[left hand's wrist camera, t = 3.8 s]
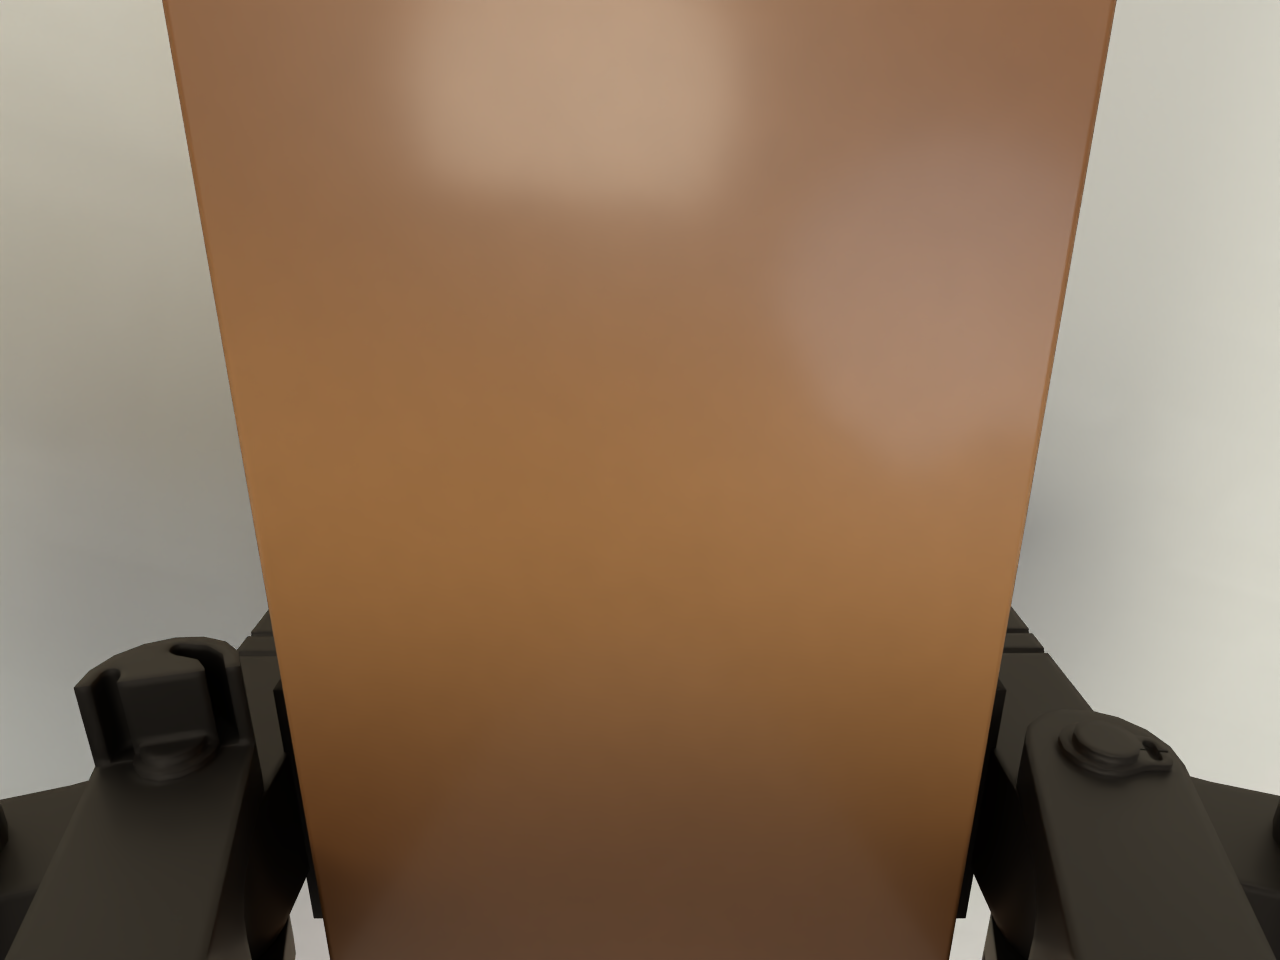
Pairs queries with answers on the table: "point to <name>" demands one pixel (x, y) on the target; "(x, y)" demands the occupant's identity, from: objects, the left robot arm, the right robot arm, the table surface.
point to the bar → (639, 445)
